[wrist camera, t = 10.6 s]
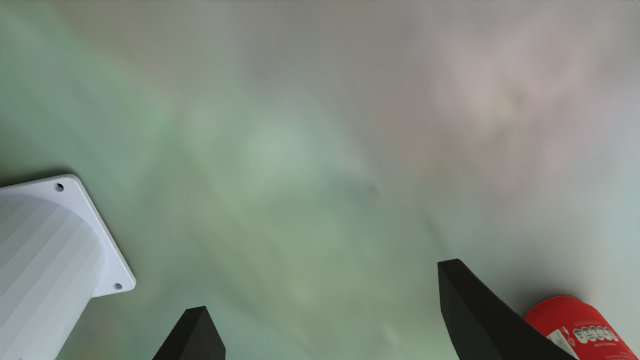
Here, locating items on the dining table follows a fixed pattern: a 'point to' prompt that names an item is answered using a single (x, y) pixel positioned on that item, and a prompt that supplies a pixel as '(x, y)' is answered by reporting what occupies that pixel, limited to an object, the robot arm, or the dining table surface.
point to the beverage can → (578, 329)
